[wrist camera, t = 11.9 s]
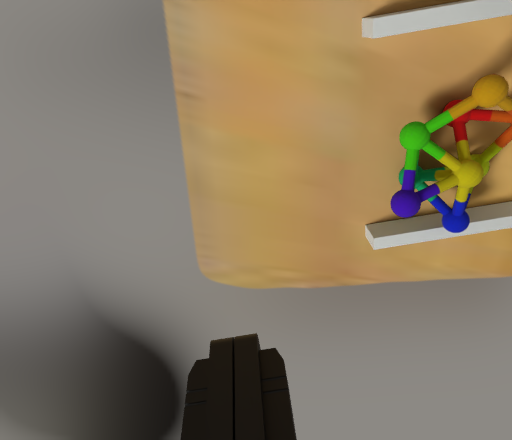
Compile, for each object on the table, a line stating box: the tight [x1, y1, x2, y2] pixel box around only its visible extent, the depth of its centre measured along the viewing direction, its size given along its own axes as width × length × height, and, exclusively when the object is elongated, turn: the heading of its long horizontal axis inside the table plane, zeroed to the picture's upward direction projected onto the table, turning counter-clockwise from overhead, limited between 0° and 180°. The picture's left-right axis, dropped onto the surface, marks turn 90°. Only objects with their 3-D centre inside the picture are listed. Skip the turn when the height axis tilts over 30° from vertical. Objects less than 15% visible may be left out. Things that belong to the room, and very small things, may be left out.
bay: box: [362, 0, 512, 250], centre depth 38 cm, size 23×20×3 cm
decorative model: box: [391, 74, 512, 233], centre depth 37 cm, size 13×9×15 cm
